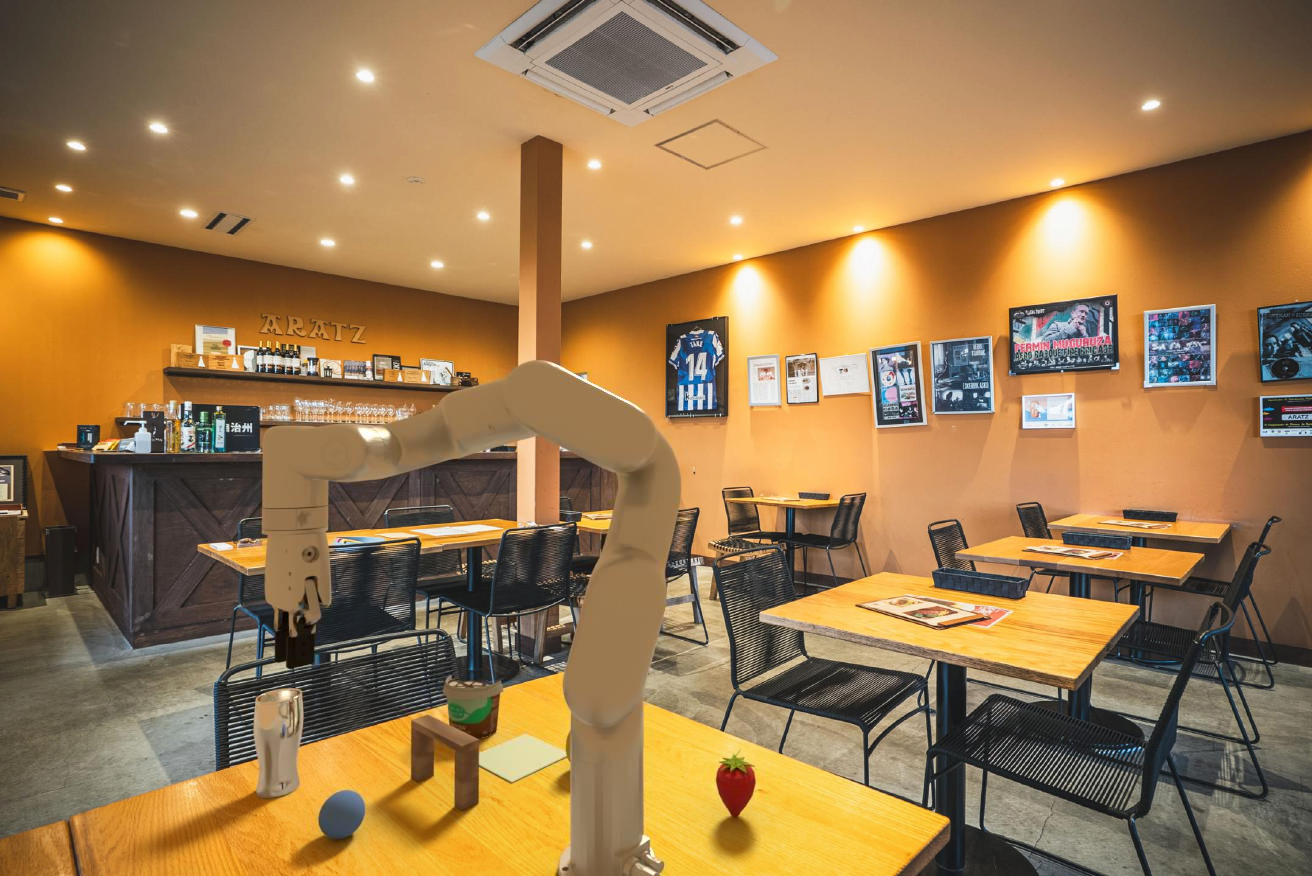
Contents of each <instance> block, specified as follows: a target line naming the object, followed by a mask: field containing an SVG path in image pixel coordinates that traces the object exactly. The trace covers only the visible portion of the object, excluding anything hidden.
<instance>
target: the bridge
mask: <svg viewBox="0 0 1312 876" xmlns="http://www.w3.org/2000/svg"><path fill="white" fill-rule="evenodd" d="M410 722H411V723H410V724H411V725H410V753H411V754H410V779H411V781H413V782H414V783H420V781H421V782H423V781H425V780H427V779H430V778H431V777H432V776H433V777H434V776H435V741H436V742H438V743H440V744H442V745H444V746H445V747H448V748H449V749H451V750H453V751H454V790H453V791H454V799H453V801H454V808H456V809H457V810H460V811H461V812H462V811H465V810H468V809H470V808H471V807H473V806H475V805H477V804H480V766H479V753H480V739H477V738H475V737H473V736H471V735H469V734H467V733H465V732H463V731H461V730H458V729H456V728H454V727H452V726H450V725H449V723H446V722H444V721H442V720H440V719H438V718H436V717H434V716H431V715H429V714H425V715H422V716H419V717H416V718H413V719H411V721H410Z"/></svg>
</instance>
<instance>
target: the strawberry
mask: <svg viewBox="0 0 1312 876" xmlns="http://www.w3.org/2000/svg"><path fill="white" fill-rule="evenodd" d="M741 751H742V749H739V750H738V752H737V753H736V754H734V753H733V754H732V757H731V758H729V757H722V760H721V761H720V760H719V761H718V764H719V763H720V764H721V765H720V766H719V767H718V768H717V771H716V776H715V785H716V789H717V792H718V795H719V797H720V799H721V801H722V803H723V804H724V806H725V808H726V809H727V811H728V812H729V814H730V816H731V817H733V818H738V817H739V816H740V815H741V813H742V811H744V809H745V808H747V805H748V804H749V802H750V800H751V799H752V797H753V795H754V791H755V787H756V783H757V781H756V774H755V771H754V769H753V768H755V767H756V766H755V765H754V764H752V763H750V762H747V761H745V758H746V757H745V756H742V757H737V756H738V755H739V753H740V752H741ZM752 767H753V768H752Z"/></svg>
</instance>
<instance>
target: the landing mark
mask: <svg viewBox="0 0 1312 876" xmlns="http://www.w3.org/2000/svg"><path fill="white" fill-rule="evenodd" d="M566 758H567V755H566V750H563V749H561V748H559V747H557V746H554V745H553V744H550V743H548V742H546V741H543V740H542V739H539V738H537V737H535V736H532V735H529V734H528V733H524V734H521V735H519V736H516V737H514V738H512V739H510V740H509V739H508V740H507V741H504V742H502V743H500V744H497V745H495V746H492V747H490V748H487V749H486V750H483V751H479V767H481V768H483V769H485V770H486V771H488V772H489V773H490V772H491V773H492V774H494V775H496V776H497V777H500V778H502V779H504V780H505V781H507V782H509V783H511V784H514V783H515V782H517V781H520V780H522V779H524V778H526V777H528V776H530V775H532V774H534V773H536V772H538V771H541V770H543V769H544V768H547V767H548V766H551V765H553V764H555V763H557V762H560V761H562V760H563V759H566Z"/></svg>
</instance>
